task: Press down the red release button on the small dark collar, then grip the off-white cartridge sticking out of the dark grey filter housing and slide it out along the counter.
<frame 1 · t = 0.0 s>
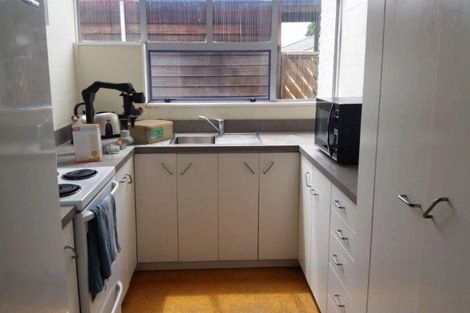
hand: (130, 129, 256), 15 cm above the counter, tool pointing down, fingers open, 9 cm apart
button collar: (119, 149, 272), on the counter
housing: (103, 153, 260), on the counter
air freshener: (125, 145, 286), on the counter
cracker box: (89, 161, 239), on the counter
cartridge: (109, 149, 259), point 3 cm above the counter, slide at 0.0 cm
paper package: (149, 141, 302), on the counter
button: (118, 144, 271), point 3 cm above the counter, slide at 0.0 cm
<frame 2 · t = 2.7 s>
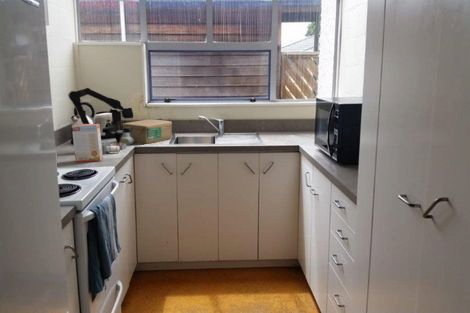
hand: (118, 143, 271), 4 cm above the counter, tool pointing down, fingers closed, pressing on button
button: (119, 145, 271), point 2 cm above the counter, slide at 1.2 cm, touching gripper
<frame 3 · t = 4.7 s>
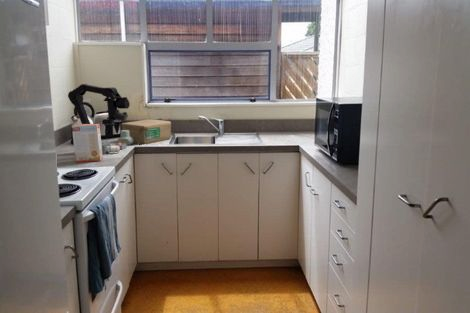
hand: (114, 134, 256), 12 cm above the counter, tool pointing down, fingers open, 7 cm apart
button: (119, 145, 271), point 2 cm above the counter, slide at 1.3 cm
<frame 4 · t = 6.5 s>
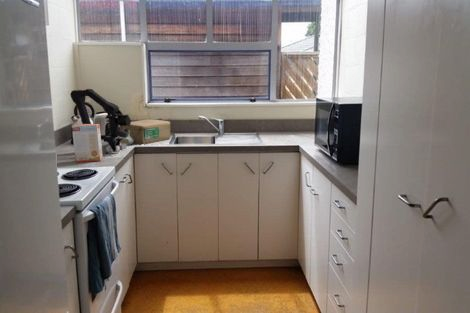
hand: (116, 150, 258), 2 cm above the counter, tool pointing down, fingers closed on cartridge, 4 cm apart
cartridge: (109, 149, 259), point 3 cm above the counter, slide at 0.0 cm, touching gripper
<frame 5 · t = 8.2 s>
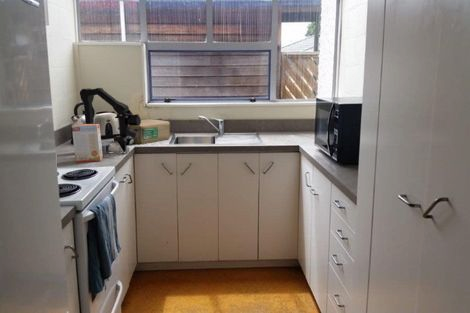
hand: (125, 150, 257), 2 cm above the counter, tool pointing down, fingers closed on cartridge, 4 cm apart
cartridge: (119, 149, 258), point 3 cm above the counter, slide at 6.5 cm, touching gripper
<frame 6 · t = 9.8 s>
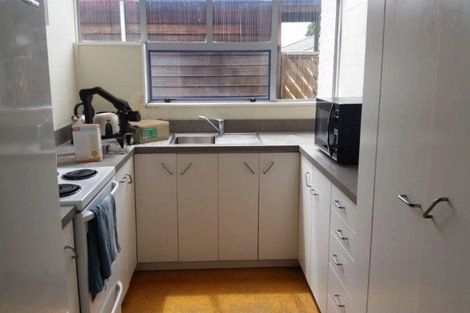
hand: (125, 147, 257), 4 cm above the counter, tool pointing down, fingers open, 9 cm apart
cartridge: (119, 149, 258), point 3 cm above the counter, slide at 6.5 cm
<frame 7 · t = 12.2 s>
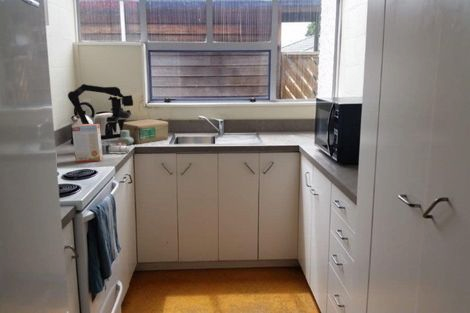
hand: (118, 131, 268), 12 cm above the counter, tool pointing down, fingers open, 9 cm apart
at the end: cartridge slide at 6.5 cm; button slide at 1.3 cm; the gripper is holding nothing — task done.
